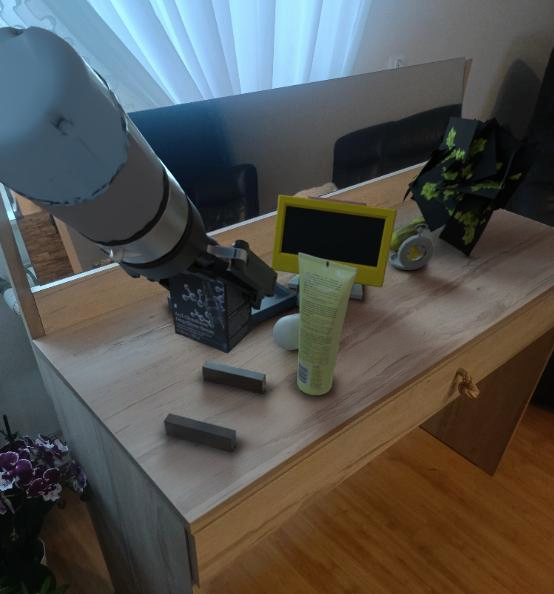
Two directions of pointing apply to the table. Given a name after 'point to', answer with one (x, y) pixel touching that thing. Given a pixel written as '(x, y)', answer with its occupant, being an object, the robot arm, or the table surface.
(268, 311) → the tray
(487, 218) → the potted plant
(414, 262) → the pocket watch
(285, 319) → the figurine
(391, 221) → the toy computer monitor
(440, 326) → the table surface
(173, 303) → the box
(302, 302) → the tube
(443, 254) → the table surface
